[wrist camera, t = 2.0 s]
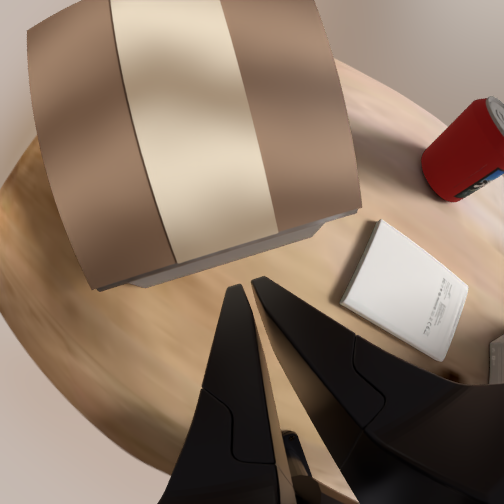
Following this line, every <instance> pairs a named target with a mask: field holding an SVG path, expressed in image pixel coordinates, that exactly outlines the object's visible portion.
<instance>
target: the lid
mask: <svg viewBox="0 0 504 504" xmlns="http://www.w3.org/2000/svg"><path fill="white" fill-rule="evenodd" d="M27 56H28V72H29V84H30V93H31V100H32V107H33V114H34V120H35V125H36V130H37V135H38V140H39V145H40V149H41V153H42V157H43V161H44V165H45V169H46V172H47V176H48V180H49V183H50V186H51V190H52V193H53V196H54V199H55V202H56V205H57V208H58V211H59V214H60V217H61V219H62V222H63V225H64V227H65V230H66V233H67V235H68V238H69V240H70V243H71V245H72V248H73V250H74V252H75V255H76V257H77V259H78V262H79V264H80V266H81V268H82V270H83V273H84V275H85V277H86V279H87V281H88V283H89V285H90V287H91V289H92V290H94V289H97V290H98V291H99V292H101V291H104V290H107V289H110V288H114V287H117V286H120V285H123V284H126V283H129V282H133V281H136V280H139V279H142V278H145V277H149V276H152V275H155V274H158V273H161V272H165V271H168V270H171V269H174V268H177V267H181V266H184V265H187V264H190V263H194V262H197V261H200V260H203V259H207V258H210V257H213V256H216V255H220V254H223V253H226V252H229V251H233V250H236V249H239V248H242V247H246V246H249V245H252V244H256V243H259V242H262V241H265V240H269V239H272V238H275V237H279V236H282V235H285V234H289V233H292V232H295V231H298V230H302V229H305V228H308V227H312V226H315V225H318V224H322V223H325V222H329V221H332V220H335V219H339V218H342V217H345V216H349V215H352V214H355V213H357V210H358V208H362V201H361V192H360V185H359V177H358V170H357V163H356V157H355V151H354V145H353V140H352V134H351V129H350V124H349V119H348V114H347V110H346V105H345V101H344V96H343V92H342V88H341V84H340V80H339V76H338V72H337V69H336V65H335V62H334V58H333V55H332V51H331V48H330V45H329V42H328V38H327V35H326V32H325V29H324V26H323V23H322V20H321V18H320V15H319V12H318V9H317V7H316V4H315V1H314V0H81V1H79V2H77V3H75V4H73V5H71V6H69V7H67V8H65V9H63V10H61V11H59V12H58V13H56V14H54V15H52V16H50V17H49V18H47V19H45V20H43V21H42V22H40V23H38V24H37V25H35V26H34V27H32V28H31V29H29V30H27Z"/></svg>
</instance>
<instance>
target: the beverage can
mask: <svg viewBox="0 0 504 504" xmlns="http://www.w3.org/2000/svg"><path fill="white" fill-rule="evenodd" d="M421 163H422V169H423V173H424V175H425V178H426V180H427V182H428V183H429V185H430V186H431V188H432V189H433V190H434V191H435V192H436V193H437V194H438V195H439V196H440V197H441V198H443V199H444V200H446V201H449V202H458V201H460V200H461V199H463V198H465V197H467V196H468V195H470V194H472V193H473V192H475V191H477V190H478V189H480V188H482V187H483V186H485V185H487V184H488V183H490V182H491V181H493V180H494V179H496V178H498V177H499V176H501V175H502V174H504V104H503V103H502V102H501V101H500V100H498V99H497V98H495V97H493V96H490V97H488V98H485V99H478V100H475V101H473V102H472V104H471V105H469V106H468V107H467V109H465V110H464V112H463V113H461V115H460V116H459V117H458V118H457V119H456V120H455V121H454V122H453V123H452V124H451V125H450V126H449V127H448V128H447V129H446V130H445V131H444V132H443V133H442V134H441V135H440V136H439V137H438V138H437V139H436V140H435V141H434V142H433V143H432V144H431V145H430V146H429V147H428V148H427V149H426V150H425V151H424V153H423V155H422V159H421Z"/></svg>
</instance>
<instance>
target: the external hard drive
mask: <svg viewBox="0 0 504 504" xmlns="http://www.w3.org/2000/svg"><path fill="white" fill-rule="evenodd" d="M467 293H468V285H466V284H465V283H464V282H463V281H462V280H461V279H459V278H458V277H457V276H456V275H455V274H453V273H452V272H451V271H450V270H449V269H448V268H446V267H445V266H444V265H443V264H441V263H440V262H439V261H438V260H436V259H435V258H434V257H433V256H431V255H430V254H429V253H427V252H426V251H425V250H424V249H422V248H421V247H420V246H418V245H417V244H416V243H414V242H413V241H412V240H410V239H409V238H408V237H406V236H405V235H403V234H402V233H401V232H399V231H398V230H396V229H395V228H394V227H392V226H391V225H389V224H388V223H386V222H385V221H383V220H382V219H380V220H379V221H377V222H376V225H375V227H374V230H373V232H372V234H371V237H370V239H369V241H368V244H367V246H366V248H365V250H364V253H363V255H362V257H361V259H360V262H359V264H358V266H357V268H356V270H355V272H354V274H353V276H352V279H351V281H350V283H349V285H348V287H347V289H346V291H345V293H344V295H343V297H342V299H341V301H340V303H339V304H341V305H342V306H344V307H346V308H348V309H349V310H351V311H353V312H354V313H356V314H358V315H360V316H361V317H363V318H365V319H366V320H368V321H370V322H372V323H373V324H375V325H377V326H378V327H380V328H382V329H383V330H385V331H387V332H389V333H390V334H392V335H394V336H395V337H397V338H399V339H401V340H402V341H404V342H406V343H407V344H409V345H411V346H412V347H414V348H416V349H418V350H419V351H421V352H423V353H424V354H426V355H428V356H429V357H431V358H433V359H435V360H436V361H440V362H442V361H443V360H444V358H445V356H446V354H447V351H448V349H449V346H450V344H451V341H452V338H453V336H454V333H455V330H456V327H457V325H458V322H459V319H460V316H461V313H462V310H463V306H464V303H465V300H466V297H467Z"/></svg>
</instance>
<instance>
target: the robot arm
mask: <svg viewBox="0 0 504 504" xmlns="http://www.w3.org/2000/svg"><path fill="white" fill-rule="evenodd" d="M251 285H252V289H253V293H254V297H255V301H256V304H257V308H258V310H259V313H260V316H261V319H262V321H263V324H264V327H265V330H266V332H267V335H268V338H269V340H270V343H271V346H272V348H273V351H274V353H275V355H276V357H277V359H278V361H279V363H280V365H281V366H282V368H283V370H284V372H285V374H286V376H287V378H288V379H289V381H290V383H291V385H292V387H293V389H294V390H295V392H296V394H297V396H298V398H299V399H300V401H301V403H302V405H303V407H304V408H305V410H306V412H307V414H308V416H309V417H310V419H311V421H312V423H313V424H314V426H315V428H316V430H317V432H318V433H319V435H320V437H321V439H322V440H323V442H324V444H325V445H326V447H327V449H328V451H329V452H330V454H331V456H332V458H333V459H334V461H335V463H336V464H337V466H338V468H339V469H341V470H340V471H341V473H342V475H343V476H344V478H345V480H346V481H347V483H348V485H349V486H350V488H351V490H352V491H353V493H354V495H355V496H356V498H357V500H358V501H359V502H357V501H355V500H353V499H351V498H349V497H347V496H345V495H343V494H341V493H339V492H337V491H336V490H334V489H332V488H330V487H328V486H326V485H325V484H323V483H321V482H319V481H318V480H316V479H314V478H313V477H312V475H311V472H310V469H309V466H308V464H307V461H306V458H305V455H304V452H303V450H302V447H301V444H300V441H299V438H298V436H297V434H296V433H295V432H293V431H291V432H287V433H284V434H281V429H280V425H279V420H278V415H277V411H276V406H275V401H274V396H273V392H272V387H271V382H270V377H269V373H268V368H267V363H266V359H265V355H264V351H263V348H262V344H261V341H260V337H259V334H258V330H257V326H256V323H255V319H254V316H253V312H252V309H251V307H250V304H249V302H248V299H247V296H246V294H245V291H244V289H243V286H242V285H241V284H237V285H234V286H231V287H228V288H227V290H226V293H225V297H224V301H223V305H222V309H221V312H220V316H219V320H218V324H217V328H216V332H215V336H214V339H213V343H212V347H211V351H210V355H209V359H208V363H207V367H206V371H205V375H204V379H203V383H202V388H203V389H201V390H200V394H199V399H198V403H197V406H196V410H195V413H194V417H193V420H192V423H191V426H190V429H189V432H188V434H187V437H186V440H185V443H184V445H183V448H182V450H181V453H180V455H179V458H178V460H177V463H176V465H175V468H174V470H173V473H172V475H171V478H170V480H169V483H168V485H167V487H166V490H165V492H164V494H163V495H162V497H161V499H160V500H159V502H158V503H157V504H504V383H501V384H487V385H466V384H460V383H456V382H453V381H450V380H447V379H445V378H443V377H440V376H438V375H436V374H433V373H431V372H429V371H427V370H424V369H422V368H420V367H418V366H415V365H413V364H411V363H409V362H406V361H404V360H402V359H400V358H398V357H396V356H394V355H392V354H390V353H388V352H386V351H384V350H382V349H381V348H379V347H377V346H376V345H374V344H372V343H370V342H369V341H367V340H365V339H364V338H362V337H361V336H359V335H356V334H355V333H354V332H352V331H351V330H349V329H348V328H346V327H344V326H343V325H341V324H340V323H338V322H336V321H335V320H333V319H332V318H330V317H328V316H327V315H325V314H324V313H322V312H321V311H319V310H317V309H316V308H314V307H313V306H311V305H310V304H308V303H306V302H305V301H303V300H302V299H300V298H298V297H297V296H295V295H294V294H292V293H291V292H289V291H287V290H286V289H284V288H283V287H281V286H280V285H278V284H277V283H275V282H273V281H272V280H270V279H269V278H267V277H265V276H262V277H259V278H256V279H253V280H252V281H251ZM355 336H356V337H355ZM290 436H294V437H293V438H292V439H289V437H290Z"/></svg>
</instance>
